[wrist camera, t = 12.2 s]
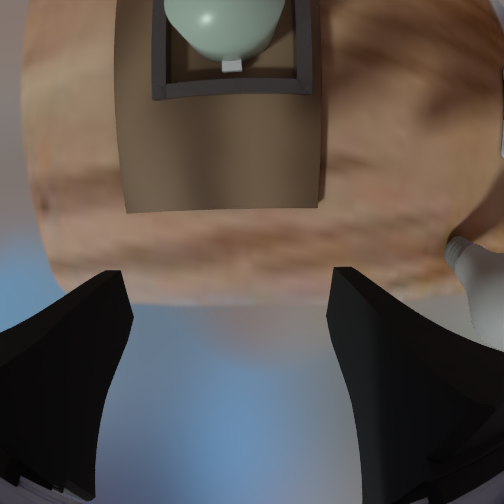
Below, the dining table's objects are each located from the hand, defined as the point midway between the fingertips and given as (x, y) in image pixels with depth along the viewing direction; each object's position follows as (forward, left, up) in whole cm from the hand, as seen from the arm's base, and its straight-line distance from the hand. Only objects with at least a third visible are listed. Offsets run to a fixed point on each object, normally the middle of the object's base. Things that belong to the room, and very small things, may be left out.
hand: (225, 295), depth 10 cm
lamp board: (+1, -8, -9) cm, 12 cm away
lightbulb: (-17, +3, -10) cm, 20 cm away
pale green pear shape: (0, -11, -9) cm, 14 cm away
